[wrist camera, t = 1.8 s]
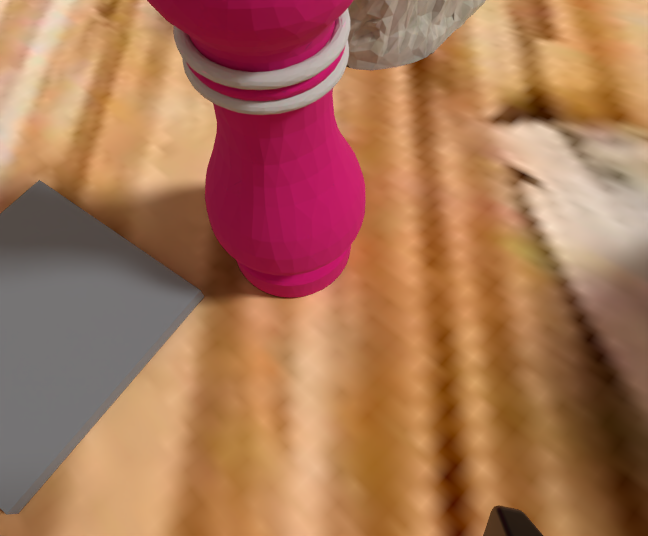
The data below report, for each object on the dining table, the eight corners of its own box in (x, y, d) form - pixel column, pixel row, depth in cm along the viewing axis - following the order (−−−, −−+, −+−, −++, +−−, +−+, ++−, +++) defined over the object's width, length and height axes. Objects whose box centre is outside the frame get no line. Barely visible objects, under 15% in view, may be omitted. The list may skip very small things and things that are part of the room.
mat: (18, 513, 20) (6, 514, 19) (-145, 356, 23) (-160, 352, 22) (204, 296, 24) (200, 290, 23) (47, 188, 27) (39, 180, 26)
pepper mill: (203, 227, 26) (-83, -390, 8) (315, 171, 27) (293, -447, 9) (266, 333, 23) (51, -233, 5) (385, 264, 25) (544, -349, 7)
